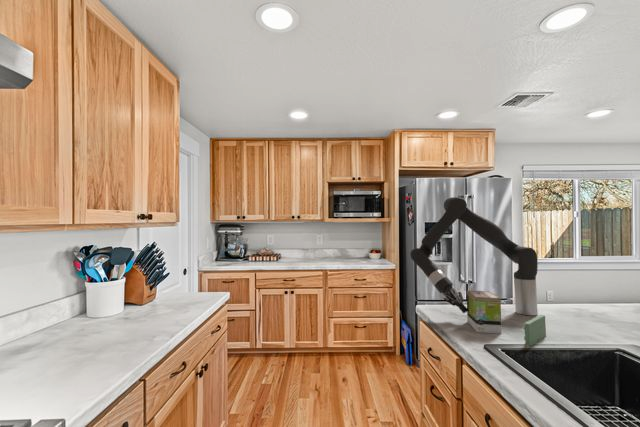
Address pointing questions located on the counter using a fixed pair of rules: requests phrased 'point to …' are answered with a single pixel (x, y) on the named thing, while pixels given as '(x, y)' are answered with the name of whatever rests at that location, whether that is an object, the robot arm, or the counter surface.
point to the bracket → (534, 330)
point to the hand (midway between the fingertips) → (465, 311)
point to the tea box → (484, 311)
